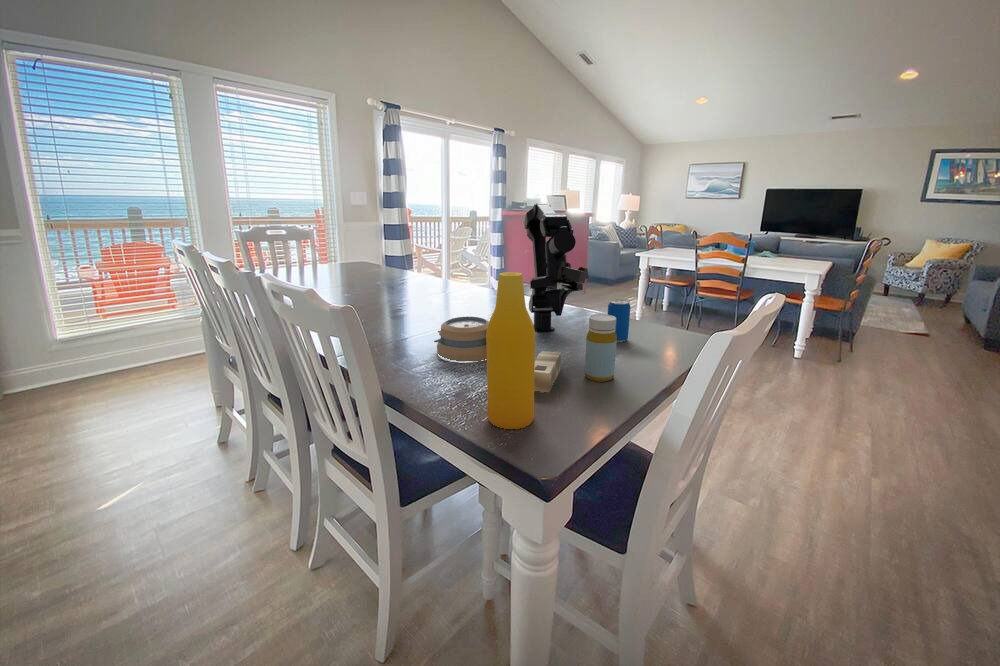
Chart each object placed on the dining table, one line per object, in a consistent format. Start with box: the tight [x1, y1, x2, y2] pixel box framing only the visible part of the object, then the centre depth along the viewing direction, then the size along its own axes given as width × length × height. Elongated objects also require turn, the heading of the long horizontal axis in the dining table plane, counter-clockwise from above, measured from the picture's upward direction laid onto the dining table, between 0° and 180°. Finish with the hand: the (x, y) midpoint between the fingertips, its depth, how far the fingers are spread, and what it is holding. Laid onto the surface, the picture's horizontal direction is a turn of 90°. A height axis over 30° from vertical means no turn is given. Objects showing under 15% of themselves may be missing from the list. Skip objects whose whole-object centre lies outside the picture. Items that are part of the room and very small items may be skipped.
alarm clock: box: [433, 316, 490, 361], centre depth 125 cm, size 17×9×23 cm
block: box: [534, 350, 562, 393], centre depth 106 cm, size 5×5×14 cm
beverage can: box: [607, 299, 631, 343], centre depth 134 cm, size 6×6×12 cm
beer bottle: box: [486, 271, 536, 430], centre depth 84 cm, size 9×9×29 cm
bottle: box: [584, 313, 618, 383], centre depth 106 cm, size 7×7×15 cm
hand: (558, 315), depth 124 cm, fingers closed
